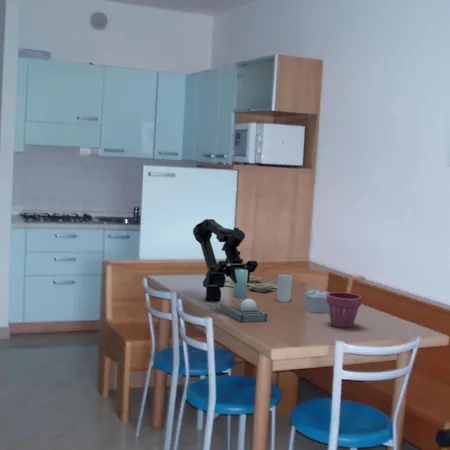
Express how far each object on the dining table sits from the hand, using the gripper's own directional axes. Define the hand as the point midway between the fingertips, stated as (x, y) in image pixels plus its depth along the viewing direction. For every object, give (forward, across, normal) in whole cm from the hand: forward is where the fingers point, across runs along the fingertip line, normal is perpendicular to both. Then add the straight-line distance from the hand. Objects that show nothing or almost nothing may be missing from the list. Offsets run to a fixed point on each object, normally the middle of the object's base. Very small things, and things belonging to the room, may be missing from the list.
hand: (242, 282), depth 301 cm
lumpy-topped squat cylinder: (+9, -40, -10) cm, 42 cm away
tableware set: (-29, -39, -50) cm, 70 cm away
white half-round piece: (+14, -1, -5) cm, 15 cm away
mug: (-6, -35, -26) cm, 44 cm away
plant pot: (+29, -34, +10) cm, 45 cm away
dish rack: (+12, +1, -7) cm, 14 cm away
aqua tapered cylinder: (+4, 0, -6) cm, 7 cm away
